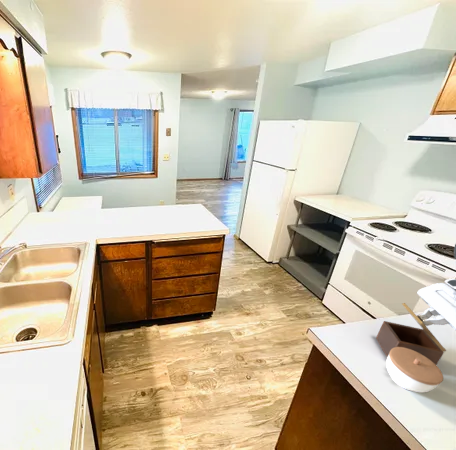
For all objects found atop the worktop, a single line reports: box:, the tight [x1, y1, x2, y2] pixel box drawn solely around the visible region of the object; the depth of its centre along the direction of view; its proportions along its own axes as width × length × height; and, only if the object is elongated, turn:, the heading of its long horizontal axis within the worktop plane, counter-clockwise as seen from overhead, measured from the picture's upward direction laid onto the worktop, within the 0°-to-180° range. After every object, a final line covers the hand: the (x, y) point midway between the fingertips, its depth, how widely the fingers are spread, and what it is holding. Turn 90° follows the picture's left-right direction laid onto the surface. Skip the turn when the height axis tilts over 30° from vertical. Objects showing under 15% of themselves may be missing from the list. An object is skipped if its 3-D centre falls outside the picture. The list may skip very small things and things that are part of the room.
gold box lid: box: [401, 302, 447, 353], centre depth 74 cm, size 11×10×1 cm
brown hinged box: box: [375, 320, 445, 366], centre depth 78 cm, size 11×10×8 cm
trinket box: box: [385, 347, 444, 393], centre depth 69 cm, size 11×11×9 cm
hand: (421, 320), depth 73 cm, fingers closed
